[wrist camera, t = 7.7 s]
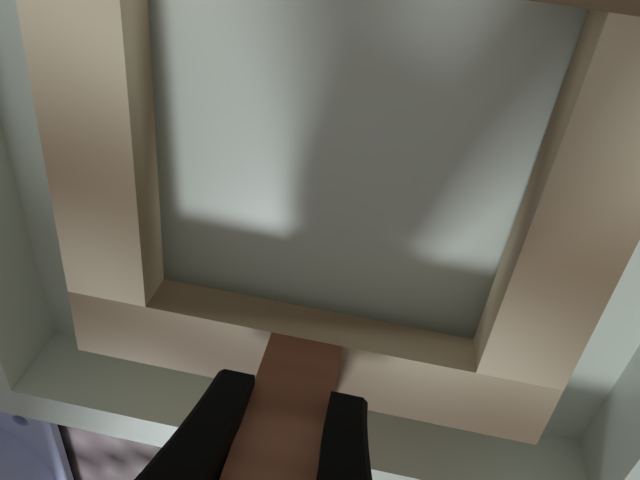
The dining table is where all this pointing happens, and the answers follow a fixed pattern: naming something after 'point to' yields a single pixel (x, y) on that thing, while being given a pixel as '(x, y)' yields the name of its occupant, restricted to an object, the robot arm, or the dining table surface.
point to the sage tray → (325, 210)
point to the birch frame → (315, 324)
